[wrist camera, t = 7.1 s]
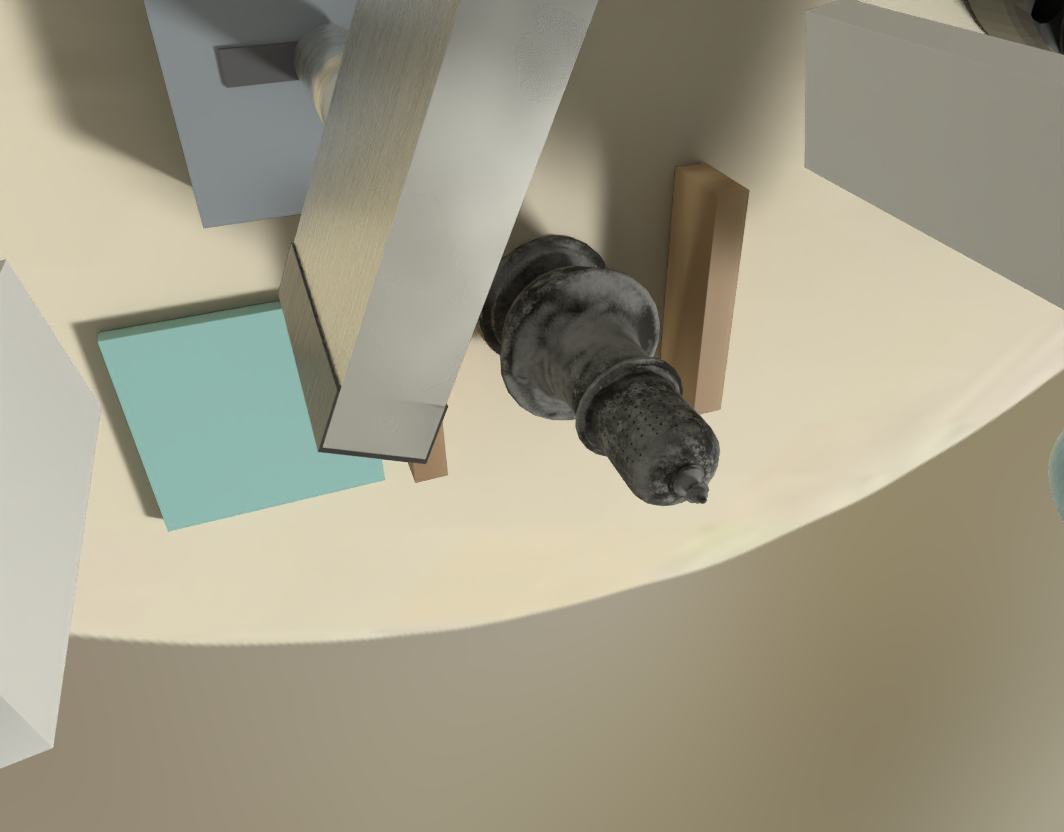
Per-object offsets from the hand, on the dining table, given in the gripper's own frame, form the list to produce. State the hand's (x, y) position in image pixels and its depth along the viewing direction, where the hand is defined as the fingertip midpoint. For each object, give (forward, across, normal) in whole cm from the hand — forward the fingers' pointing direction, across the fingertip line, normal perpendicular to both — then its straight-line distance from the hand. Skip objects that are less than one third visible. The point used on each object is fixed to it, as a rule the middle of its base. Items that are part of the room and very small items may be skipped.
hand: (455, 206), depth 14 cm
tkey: (+10, -1, 0) cm, 10 cm away
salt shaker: (+14, +4, -11) cm, 18 cm away
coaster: (+14, -7, -11) cm, 19 cm away
